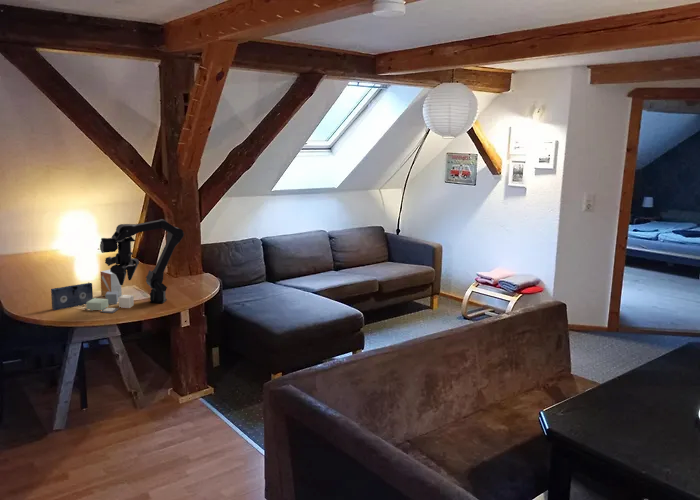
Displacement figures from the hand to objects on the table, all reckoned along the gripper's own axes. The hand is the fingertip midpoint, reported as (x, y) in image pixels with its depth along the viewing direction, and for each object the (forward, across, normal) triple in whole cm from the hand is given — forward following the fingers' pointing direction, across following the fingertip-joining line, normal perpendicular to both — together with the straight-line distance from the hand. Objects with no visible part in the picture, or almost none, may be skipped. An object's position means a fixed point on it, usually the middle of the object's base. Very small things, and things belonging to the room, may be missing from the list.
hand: (125, 282), depth 264 cm
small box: (+12, -15, -14) cm, 24 cm away
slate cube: (+12, -4, -9) cm, 15 cm away
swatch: (+12, +9, -4) cm, 15 cm away
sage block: (+12, +6, -11) cm, 18 cm away
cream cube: (+12, 0, 0) cm, 12 cm away
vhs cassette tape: (+12, +4, -24) cm, 27 cm away
